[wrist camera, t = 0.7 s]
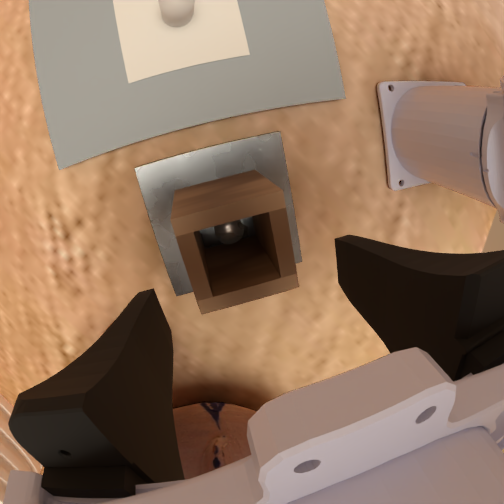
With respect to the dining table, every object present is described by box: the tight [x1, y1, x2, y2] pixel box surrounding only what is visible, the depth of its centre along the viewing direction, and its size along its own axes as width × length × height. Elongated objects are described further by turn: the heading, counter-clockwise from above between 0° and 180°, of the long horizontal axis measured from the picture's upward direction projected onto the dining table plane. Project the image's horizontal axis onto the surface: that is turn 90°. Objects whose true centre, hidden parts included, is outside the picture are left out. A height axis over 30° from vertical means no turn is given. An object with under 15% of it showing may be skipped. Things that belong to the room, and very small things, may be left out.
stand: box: [135, 131, 302, 296], centre depth 19 cm, size 9×9×3 cm
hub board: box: [29, 0, 346, 170], centre depth 13 cm, size 18×14×4 cm
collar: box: [170, 170, 299, 314], centre depth 17 cm, size 5×5×6 cm
